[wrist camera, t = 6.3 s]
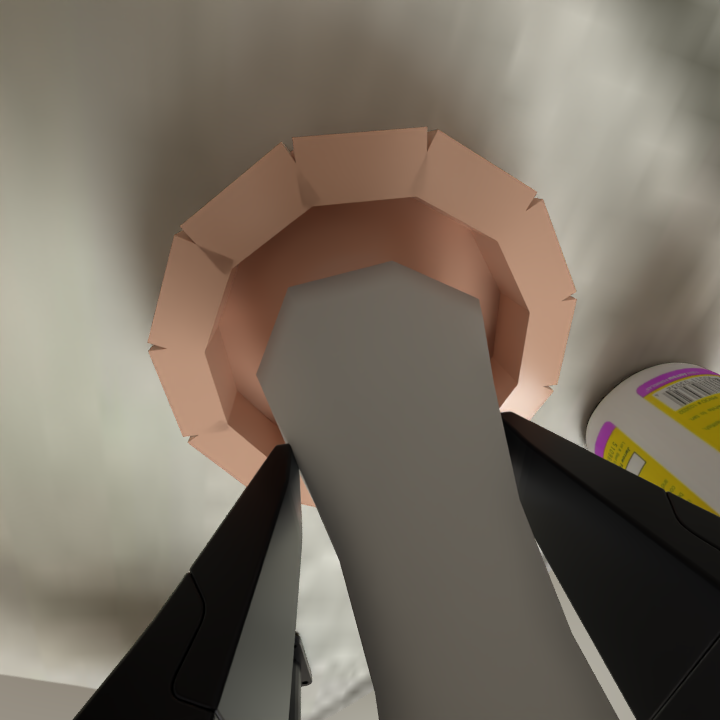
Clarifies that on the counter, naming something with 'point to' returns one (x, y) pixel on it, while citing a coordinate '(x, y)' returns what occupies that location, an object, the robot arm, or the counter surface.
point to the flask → (422, 499)
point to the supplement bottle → (664, 430)
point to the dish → (348, 253)
